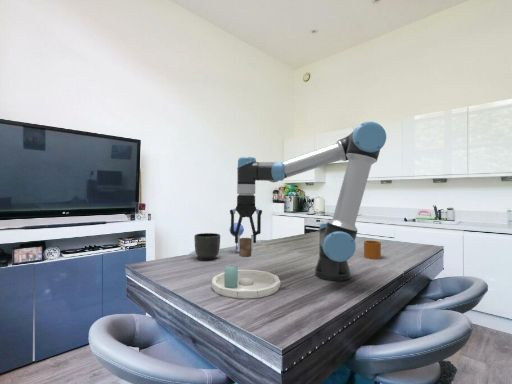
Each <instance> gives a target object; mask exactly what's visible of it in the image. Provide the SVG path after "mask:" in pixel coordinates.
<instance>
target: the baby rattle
mask: <svg viewBox="0 0 512 384" xmlns="http://www.w3.org/2000/svg"><path fill="white" fill-rule="evenodd" d="M237 224H238V222H234V231H236V228H237ZM244 229H245V227H244V226H243V225H242V224H241V225H240V229H239V233H238V235H240V237H241V236H242V235H243V233H244V231H245V230H244ZM229 233H230V235H231V236H233V237H235V235H234V234H231V226H230V227H229ZM234 250H235V251H234V252H235V254H237V253H239V252H238V243H235V249H234Z"/></svg>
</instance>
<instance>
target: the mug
mask: <svg viewBox="0 0 512 384" xmlns="http://www.w3.org/2000/svg"><path fill="white" fill-rule="evenodd" d="M381 244H382V243H381V242H380V241H378V240H363V257H364V258H365V259H368V258H369V260H380V258H381V257H382V255H381V252H382V248H381V246H382V245H381ZM381 259H382V258H381Z"/></svg>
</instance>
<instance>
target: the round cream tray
mask: <svg viewBox="0 0 512 384" xmlns="http://www.w3.org/2000/svg"><path fill="white" fill-rule="evenodd" d="M280 287H281V279H280V278H279V276H278V275H276V274H273V273H272V272H268V271H265V270H263V271H262V270H256V269H238V286H237V287H236V288H232V289H231V288H225V287H224V271H223V272H221V273H219V274H216V275H215V276H213V277H212V280H211V288H212V290H213V291H214V292H215V293H216V294H218V295H219V296H224V297H227V298H233V299H242V300H244V299H245V300H247V299H249V300H251V299H258V298H264V297H268V296H271V295H273V294H275V293H277V292H278V291H279V290H280Z"/></svg>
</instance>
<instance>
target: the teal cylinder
mask: <svg viewBox="0 0 512 384" xmlns="http://www.w3.org/2000/svg"><path fill="white" fill-rule="evenodd" d="M238 268H239V267H238V266H235V265H226V266H225V267H224V271H223V272H224V287H225V288H231V289H232V288H236V287H237V286H238V270H239V269H238Z"/></svg>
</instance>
